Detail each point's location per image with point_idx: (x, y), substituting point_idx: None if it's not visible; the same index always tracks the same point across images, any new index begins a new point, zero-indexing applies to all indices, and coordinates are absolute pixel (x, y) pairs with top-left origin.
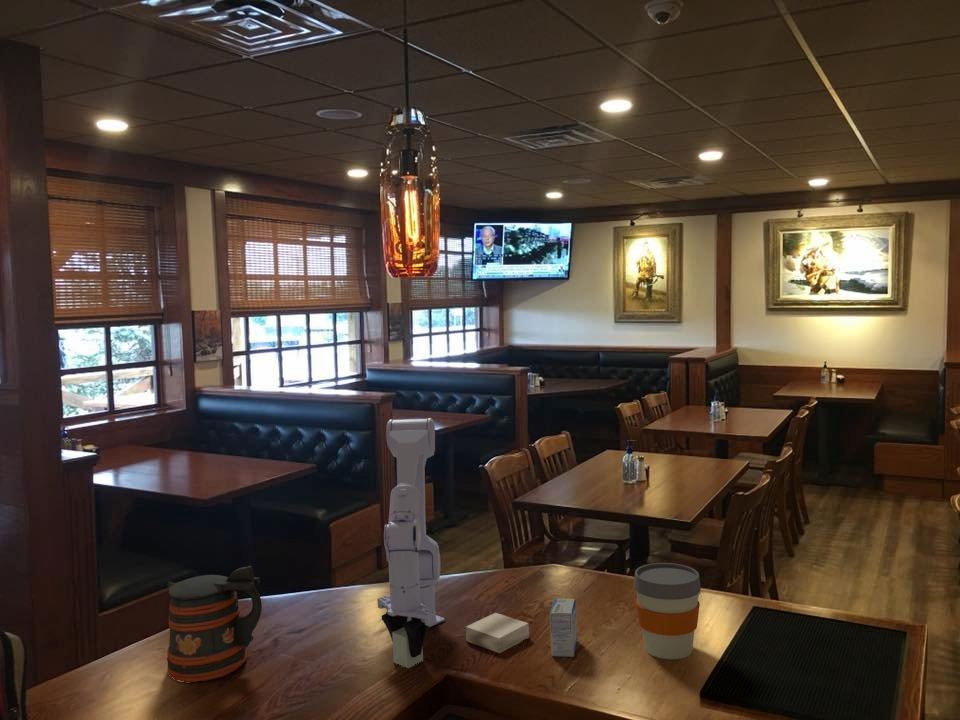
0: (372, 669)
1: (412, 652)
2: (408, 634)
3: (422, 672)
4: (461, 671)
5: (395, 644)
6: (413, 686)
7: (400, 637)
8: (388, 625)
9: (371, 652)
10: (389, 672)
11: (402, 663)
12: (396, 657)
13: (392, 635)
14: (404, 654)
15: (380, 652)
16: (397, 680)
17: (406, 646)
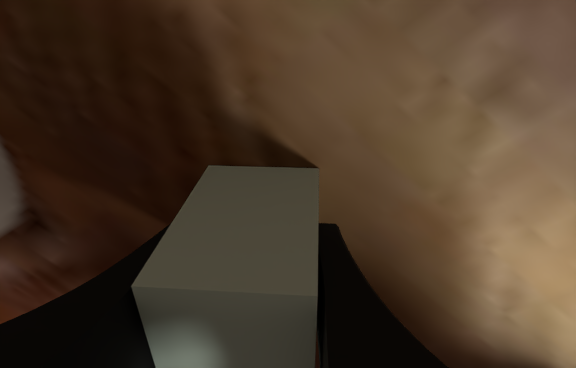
0: (360, 36)
1: (159, 232)
2: (79, 315)
3: (125, 179)
4: (34, 268)
5: (286, 231)
6: (12, 48)
7: (208, 276)
8: (365, 343)
9: (520, 179)
10: (245, 77)
11: (244, 173)
12: (291, 185)
13: (314, 274)
14: (209, 203)
15: (469, 205)
16: (129, 38)
17: (165, 238)
